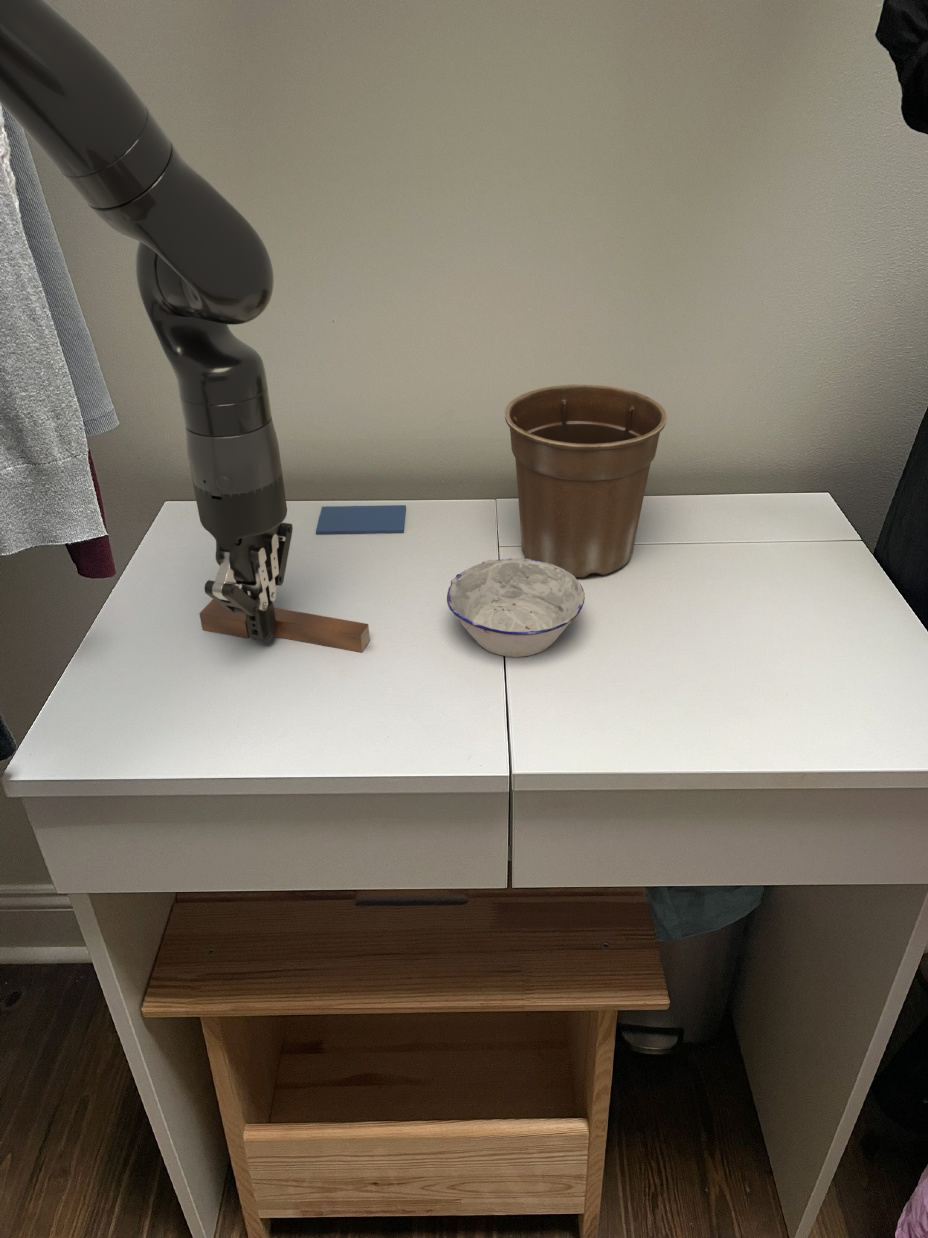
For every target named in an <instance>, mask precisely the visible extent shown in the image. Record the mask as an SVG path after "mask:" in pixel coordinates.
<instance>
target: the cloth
mask: <svg viewBox="0 0 928 1238" xmlns="http://www.w3.org/2000/svg"><path fill="white" fill-rule="evenodd" d="M406 512H407V505H406V504H399V505H398V504H395V505H394V504H391V505H386V504H385V505H334V506H333V505H331V506H327V505H326V506H321V508H320V513H319V517H318V520H317V521H318V522H317V524H316V525H317V526H316V529H315V534H316V535H339V534H340V535H345V534H347V535H348V534H349V535H351V534H353V535H355V534H356V535H357V534H403V533H404V531H405V521H406Z"/></svg>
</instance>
